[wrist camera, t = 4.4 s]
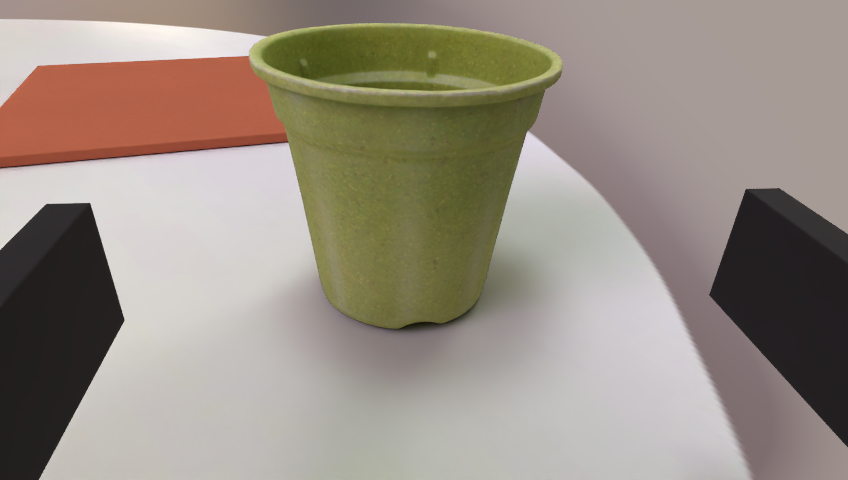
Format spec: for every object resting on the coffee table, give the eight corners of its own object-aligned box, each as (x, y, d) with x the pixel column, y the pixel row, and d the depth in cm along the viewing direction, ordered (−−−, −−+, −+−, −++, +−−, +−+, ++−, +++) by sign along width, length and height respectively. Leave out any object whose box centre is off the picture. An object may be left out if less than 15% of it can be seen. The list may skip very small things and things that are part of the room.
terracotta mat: (294, 60, 52) (294, 53, 51) (341, 136, 35) (341, 127, 35) (39, 73, 46) (37, 65, 45) (-45, 171, 29) (-49, 160, 29)
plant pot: (370, 204, 28) (366, 12, 23) (561, 261, 24) (599, 42, 19) (222, 305, 20) (175, 55, 16) (459, 409, 17) (484, 117, 12)
